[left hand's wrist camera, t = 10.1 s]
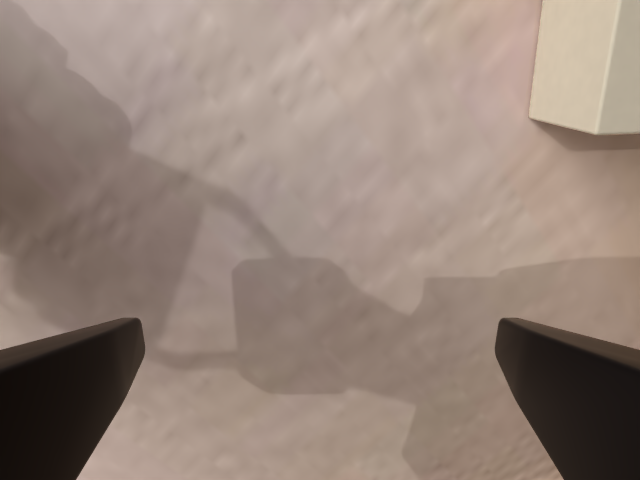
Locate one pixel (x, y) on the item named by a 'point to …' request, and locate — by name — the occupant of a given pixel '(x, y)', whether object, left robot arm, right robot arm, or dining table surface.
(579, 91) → the block
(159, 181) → the dining table surface
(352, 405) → the dining table surface
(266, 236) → the dining table surface
